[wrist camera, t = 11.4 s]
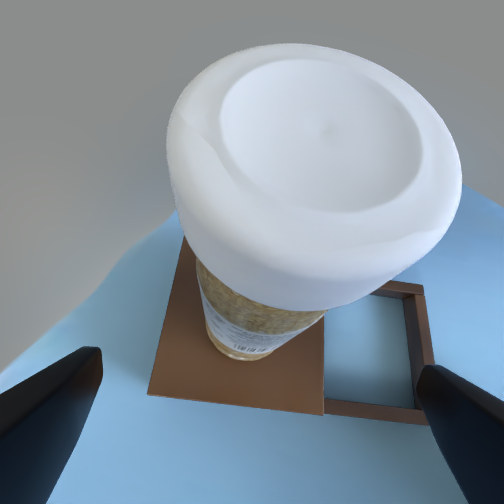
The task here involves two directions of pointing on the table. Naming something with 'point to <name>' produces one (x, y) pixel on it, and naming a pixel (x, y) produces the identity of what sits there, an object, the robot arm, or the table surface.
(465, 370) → the table surface
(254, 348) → the sprinkles bottle
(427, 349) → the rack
